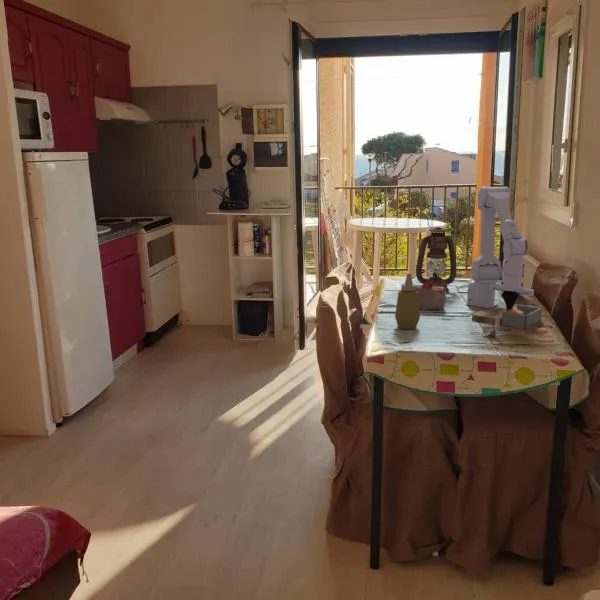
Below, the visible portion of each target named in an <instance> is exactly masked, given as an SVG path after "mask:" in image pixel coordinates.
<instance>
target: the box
mask: <svg viewBox="0 0 600 600" xmlns="http://www.w3.org/2000/svg"><path fill="white" fill-rule="evenodd" d="M516 307H517V308H516V309H517V310H520V311H523V312H524V314H523V315H521V314H515V313H509V312H502V320H501V325H500V326H506V327H511V328H516V329H522V330H527V329H529V328H531V327H533V326H535V325H537V324H538V323H540V322H541V321H542V314H543V308H542V307H536V306H531V305H530V306H529V305H524V304H517V305H516ZM534 324H535V325H534ZM532 325H533V326H532Z"/></svg>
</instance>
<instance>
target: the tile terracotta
mask: <svg viewBox="0 0 600 600" xmlns="http://www.w3.org/2000/svg"><path fill="white" fill-rule="evenodd" d="M508 312H509V313H515V314H521V315H523V314H524V312H523V311H520V310H517V308H514V307H513V308H512V309H510V310H508Z"/></svg>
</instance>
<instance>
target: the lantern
mask: <svg viewBox="0 0 600 600" xmlns="http://www.w3.org/2000/svg"><path fill="white" fill-rule="evenodd" d="M437 207H438V208H439V207H440V208H441V207H442V208H443V207H444V208H446V209H447V212H448V223H447V226H446V227H440V226H435V227H431V226H430V223H429V221H427V225H428V228H430V229H428V231H429V232H430V235H426V236H424V237H423V238H422V240H421V243H420V245H419V249H418V250H419V251H418V255H417V262H416V266H415V267H416V268H415V277H416V279H417V281H418V283H420V284H421V285H423V283H424V282H429V283H432V284H433V286H437V287H445V290H446V294H448V293H449V292H450V291H449V290H450V289H449V288H448V285H450V284H452V283H453V282H454V281H455V279H456V276H457V269H458V268H457V259H456V247H455V243H454V242H455V241H454V240H453V238H452V237H450V236H448V235H446V232H448V229H447V228H448V227H449V225H450V222H451V221H450V220H451V218H450V217H451V216H450V214H451V213H450V209H449V208H448V206H445V205H433V206H431V207H430V209H429V211H428V214H427V220H429V219H430V217H429V216H430V213H431V210H432V208H437ZM427 249H429V251H428V252H427V254H426V250H427ZM446 250H448V254H447V253H446V252H445V251H446ZM425 254H426V270H425V269H423V263H424V259H425ZM448 255H449V264H450V267H449V268H450V271H449V277H447V278H445V276H446V273H448V272H447V270H446V269H447V265H448V264H447V262H448ZM429 259H430V260H429ZM443 259H444V260H443ZM425 272H426V276H427V277H429V278H425V277H424V276H423V275H422V274H425ZM443 278H444V279H443ZM447 292H448V293H447Z"/></svg>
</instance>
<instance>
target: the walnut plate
mask: <svg viewBox="0 0 600 600" xmlns="http://www.w3.org/2000/svg"><path fill="white" fill-rule="evenodd" d="M502 312H507V309H506V308H503V307H498V306H494V307H492V306H491V307H488V308H483V309H482V310H479V311H477V312H475V313H472V314H471V321H474V320H476V322H480V321H482V322H481V323H485V322H487V323H490V324H491V323H492V324H491V325H495V319H496V317H497V318H499V319H500V323H499V326H502V325H501V320H502Z"/></svg>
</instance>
